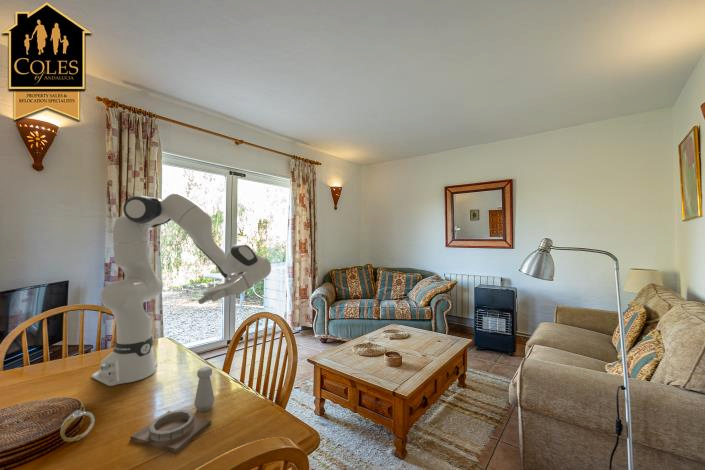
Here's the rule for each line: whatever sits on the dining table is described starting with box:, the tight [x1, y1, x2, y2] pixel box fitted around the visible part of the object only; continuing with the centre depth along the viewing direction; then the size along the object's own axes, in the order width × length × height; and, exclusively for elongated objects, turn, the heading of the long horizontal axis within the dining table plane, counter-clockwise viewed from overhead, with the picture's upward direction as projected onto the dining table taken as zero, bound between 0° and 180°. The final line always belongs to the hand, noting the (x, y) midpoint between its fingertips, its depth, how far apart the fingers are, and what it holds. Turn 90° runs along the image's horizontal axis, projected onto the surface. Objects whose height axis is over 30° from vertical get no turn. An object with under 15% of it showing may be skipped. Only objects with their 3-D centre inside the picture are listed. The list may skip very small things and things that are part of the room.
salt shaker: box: [194, 366, 215, 413], centre depth 96 cm, size 6×6×13 cm
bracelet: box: [59, 408, 96, 443], centre depth 81 cm, size 7×3×8 cm, turn 144°
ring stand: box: [129, 409, 212, 454], centre depth 84 cm, size 16×12×3 cm
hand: (206, 300), depth 104 cm, fingers open, 8 cm apart
